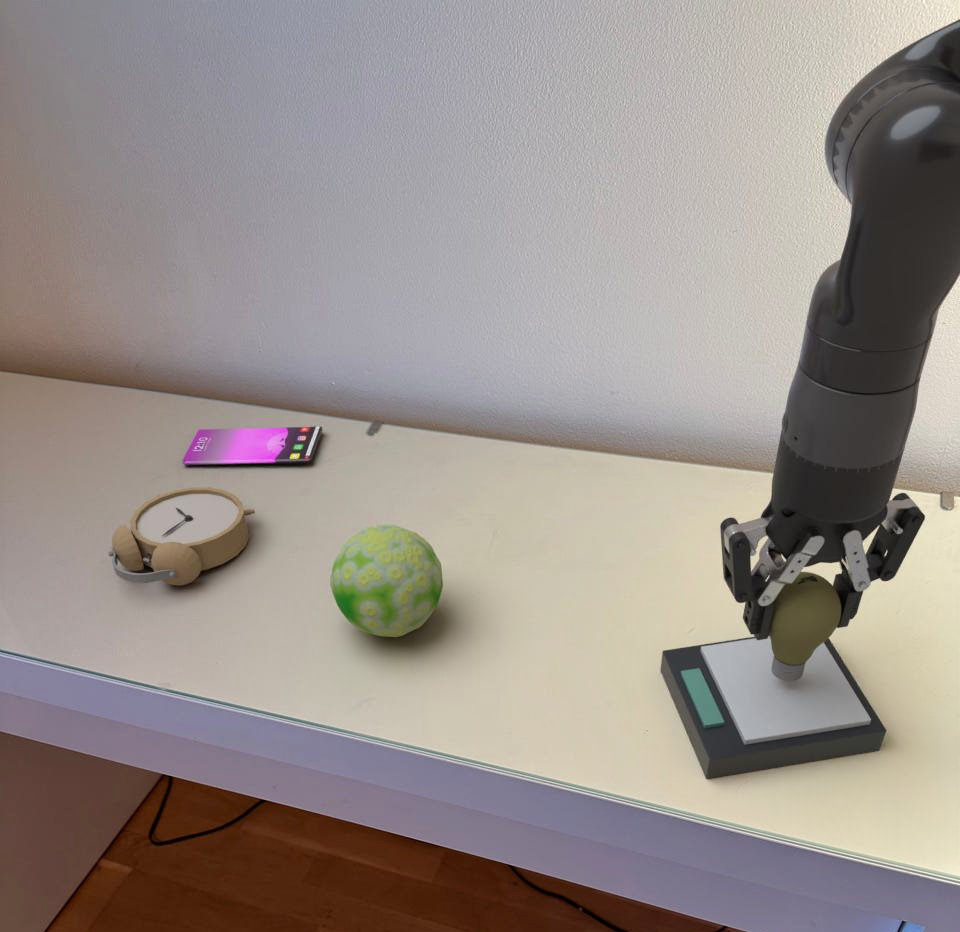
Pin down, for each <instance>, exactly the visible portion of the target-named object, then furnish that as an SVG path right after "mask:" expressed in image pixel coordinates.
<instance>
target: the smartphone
mask: <svg viewBox="0 0 960 932" xmlns="http://www.w3.org/2000/svg"><path fill="white" fill-rule="evenodd" d="M322 432H323V426H287V427H245V428H243V427H242V428H240V427H239V428H208V429H207V428H206V429H205V428H203V429H201V428H200V429H198V430H197V431H196V433H195V435H194V437H193V439H192V441H191V443H190V445H189V446H188V448H187V451H185V455H184V456H183V458H182V460H181V461H182V464H183V466H220V465H221V466H224V465H225V466H226V465H277V464H279V465H280V464H281V465H282V464H310V463H311V462H312V460H313V457H314V455H315V452H316V449H317V447H318V443H319V441H320V438H321V434H322Z"/></svg>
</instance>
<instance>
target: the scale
mask: <svg viewBox="0 0 960 932" xmlns="http://www.w3.org/2000/svg"><path fill="white" fill-rule="evenodd" d="M773 657H774V654H773V651H772V647H771V639H770V636H768V639H763V640H757V639H756V638H755V636H748V637H743V638H737V639H729V640H723V641H717V642H709V643H703V644H698V645H691V646H685V647H677V648H672V649H664V650H662V653H661V663H660V673H661V675H662V678H663V679H664V682H665V685H666V687H667V690H668V692H669V694H670V697H671V699H672V701H673V704H674V706H675V708H676V711H677V713H678V715H679V717H680V720H681V723H682V725H683V727H684V730H685V733H686V735H687V736H688V739H689V741H690V743H691V746H692V749H693V751H694V753H695V755H696V758H697V760H698V762H699V765H700V767H701V770H702V772H703V774H704V777H705V779H706V780H709V779H714V778H721V777H727V776H732V775H739V774H744V773H745V774H746V773H751V772H757V771H763V770H769V769H775V768H782V767H788V766H792V765H800V764H806V763H811V762H817V761H818V762H819V761H823V760H829V759H830V760H831V759H836V758H842V757H849V756H854V755H860V754H866V753H872V752H873V753H874V752H877V751H880V750H881V748H882V745H883V742H884V739H885V737H886V733H887V729H886V727H885V725H884V724H883V722H882V721H881V719H880V718H879V716H878V714H877V713H876V711H875V710H874V707H872V704H871V703H870V701H869V700H868V698H867V697H866V695H865V694H864V692H863V690H862V689H861V687H860V686H859V684H858V682H857V681H856V679H855V677H854V676H853V674H852V673H851V671H850V669H849V668H848V666H847V664H846V662H844V660H843V658H842V657H841V655H840V654H839V651H838V650H837V649H836V647H835V646H834V644H833V642H832V641H831V639H830V637H829V638H828V639H827V640H826V641H825V642H823V643H822V644H821V645H820V646H818V647H817V648H816V649H815V650H814V652H813V654H812V656H811V657H810V658H809V659H808V660H807V661H806V664H805V667H804V671H803V675H802V677H801V678H800V679H799V680H796V681H792V682H788V681H783V680H780V679H778V678H777V677H775V676H774V675H773V673H772V670H771V667H772V662H773Z"/></svg>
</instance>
